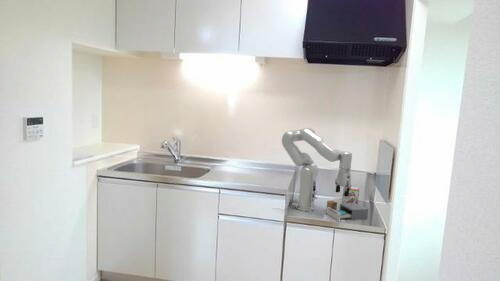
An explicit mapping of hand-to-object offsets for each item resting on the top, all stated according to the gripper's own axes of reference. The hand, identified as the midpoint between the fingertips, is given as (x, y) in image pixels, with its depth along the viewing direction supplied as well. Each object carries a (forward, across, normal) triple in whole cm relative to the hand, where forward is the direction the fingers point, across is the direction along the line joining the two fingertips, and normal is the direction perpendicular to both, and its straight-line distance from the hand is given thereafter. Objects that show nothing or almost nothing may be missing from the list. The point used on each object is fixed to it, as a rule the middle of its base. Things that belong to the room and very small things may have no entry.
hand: (341, 194), depth 224 cm
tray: (+16, 0, -1) cm, 16 cm away
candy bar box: (+16, +14, -19) cm, 29 cm away
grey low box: (+16, 0, -12) cm, 20 cm away
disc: (+14, 0, 0) cm, 14 cm away
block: (+16, +15, -4) cm, 22 cm away
